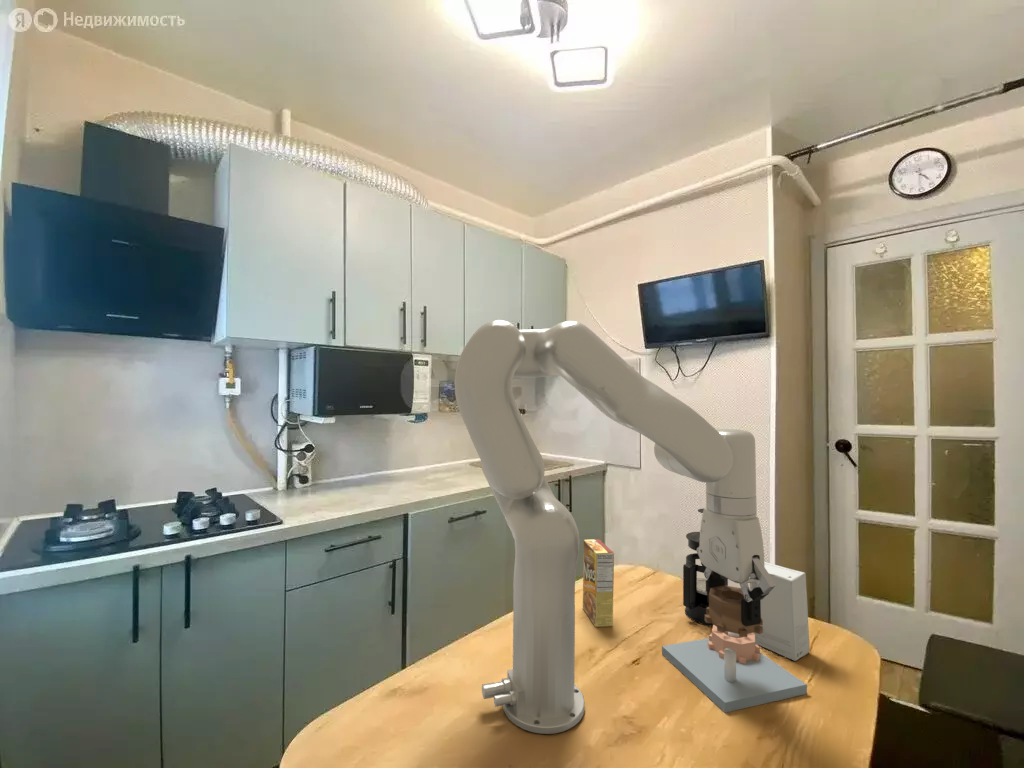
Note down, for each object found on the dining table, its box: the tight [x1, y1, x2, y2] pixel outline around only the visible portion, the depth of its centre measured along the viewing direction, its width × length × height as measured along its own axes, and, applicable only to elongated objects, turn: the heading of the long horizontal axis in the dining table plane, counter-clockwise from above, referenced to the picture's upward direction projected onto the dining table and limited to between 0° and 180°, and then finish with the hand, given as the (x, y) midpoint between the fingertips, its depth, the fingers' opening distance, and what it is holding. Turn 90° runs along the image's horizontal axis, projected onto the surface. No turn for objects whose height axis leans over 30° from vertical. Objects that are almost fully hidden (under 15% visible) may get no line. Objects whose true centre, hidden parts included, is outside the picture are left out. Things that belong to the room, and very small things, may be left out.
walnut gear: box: [705, 585, 763, 637], centre depth 75 cm, size 8×8×4 cm
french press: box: [682, 507, 729, 627], centre depth 99 cm, size 12×9×23 cm
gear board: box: [661, 625, 808, 713], centre depth 79 cm, size 16×16×6 cm
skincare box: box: [749, 561, 811, 662], centre depth 87 cm, size 8×6×15 cm
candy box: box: [582, 538, 615, 628], centre depth 99 cm, size 9×4×15 cm, turn 9°
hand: (732, 611), depth 75 cm, fingers closed on walnut gear, 7 cm apart
